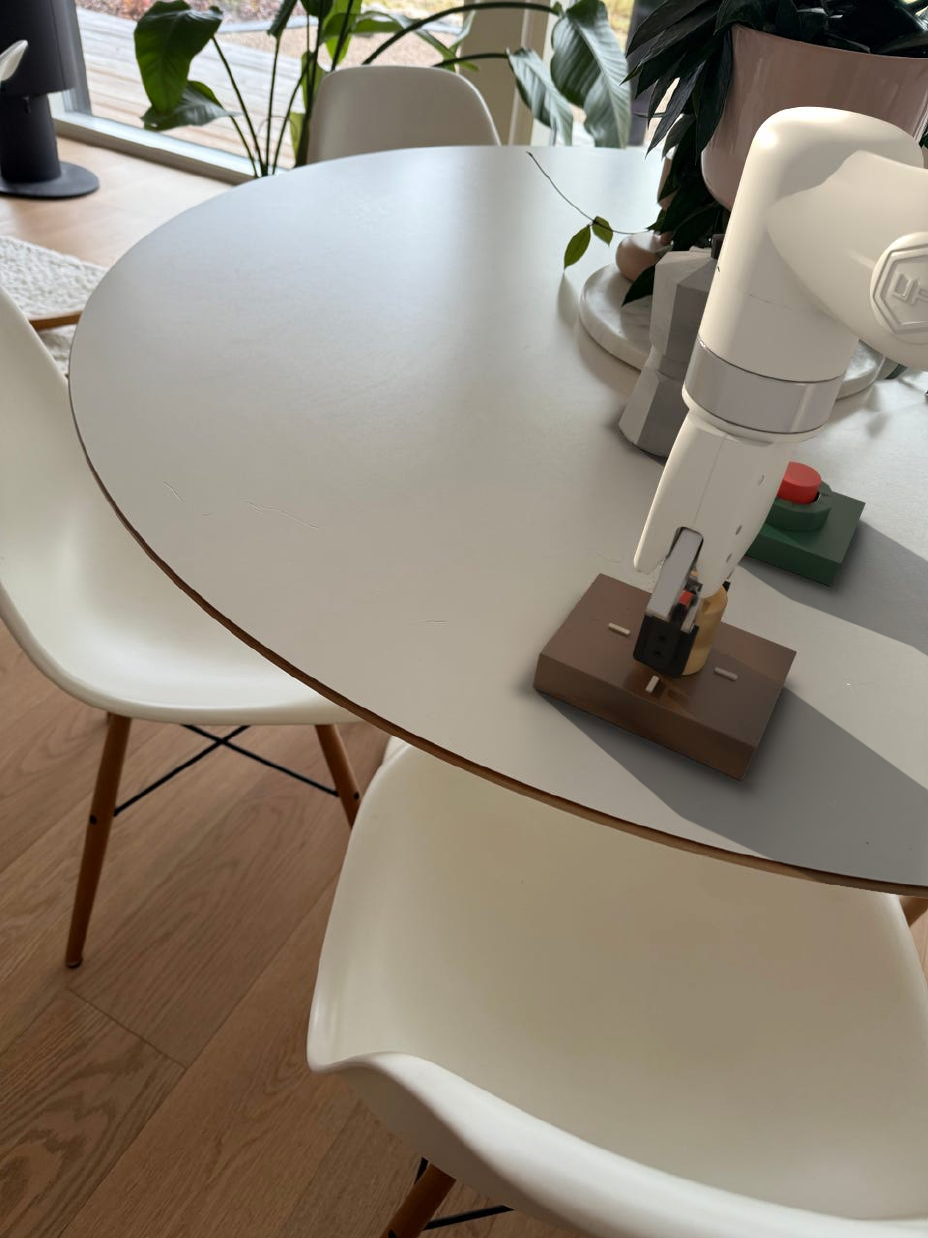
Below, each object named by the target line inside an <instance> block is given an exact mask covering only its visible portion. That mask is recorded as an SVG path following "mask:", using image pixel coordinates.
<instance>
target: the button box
mask: <svg viewBox="0 0 928 1238" xmlns="http://www.w3.org/2000/svg"><path fill="white" fill-rule="evenodd" d="M865 507H866V502H865V501H862V500H859V499H856V498H853V497H851V496H848V495H845V494H842V493H839V492H836V491H833V490H832V488H831V487H830V485H829V484H828V483H827V482H825V481H824V480H822V479H821V484H820V486H819V489H818V491H817V493H816V496H815V498H814V500H813V501H812V502H811V503H809V504H802V503H792V502H790V501H787V500H784V499H781V498H779V497H777V496H776V497H775V500H774V502H773V504H772V506H771V509H770V511H769V513H768V515H767V517H766V520H765V522H764V524H763V526H762V527H761V529H760V531H759V533H758V535H757V536H756V538H755V539H754V541H753V542H752V544H751V545H750V547H749V548H748V550H747V551H746V553H745V554H744V555H747V556H749V557H752V558H755V559H757V560H760V561H761V562H765V563H767V564H770V565H773V566H775V567H777V568H781V569H782V570H783V569H784V570H786V571H789V572H791V573H794V574H797V575H799V576H802V577H805V578H806V579H810V580H813V581H815V582H818V583H821V584H823V585H826V586H829V587H832V586H833V584H834V581H835V579H836V577H837V575H838V572H839V570H840V568H841V565H842V563H843V561H844V558H845V555H846V553H847V551H848V549H849V546H850V543H851V541H852V538H853V536H854V534H855V531H856V528H857V526H858V524H859V522H860V519H861V516H862V514H863V512H864V509H865Z"/></svg>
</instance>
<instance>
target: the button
mask: <svg viewBox="0 0 928 1238" xmlns="http://www.w3.org/2000/svg"><path fill="white" fill-rule="evenodd" d="M821 480H822V476H821V475H820V473H819V472H818V471H817V470H816V469H814V468H813V467H811V466H809V465H807V464H805V463H802V462H796V461H789V464H788V466H787V469H786V472H785V474H784V477H783V480H782V482H781V485H780V487H779V490H778V492H777V495H776V496H777V497H779V498H781V499H784V500H787V501H790V502H792V503H802V504H809V503H811V502H812V501H813V500H814V498H815V496H816V493H817V491H818V489H819V486H820V484H821Z"/></svg>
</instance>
